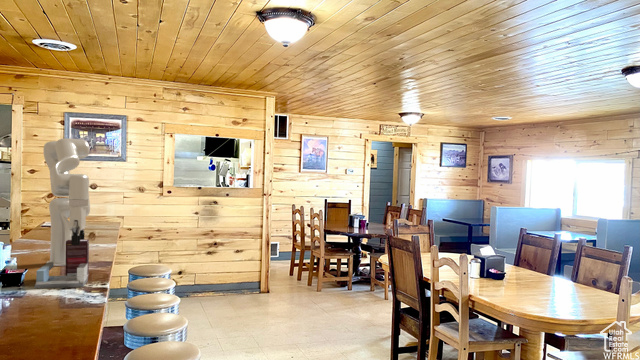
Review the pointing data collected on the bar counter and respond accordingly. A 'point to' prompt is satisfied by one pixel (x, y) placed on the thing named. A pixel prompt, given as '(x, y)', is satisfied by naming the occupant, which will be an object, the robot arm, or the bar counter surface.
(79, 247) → the supplement box
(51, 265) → the sliding jaw
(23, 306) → the bar counter surface
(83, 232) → the robot arm
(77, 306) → the bar counter surface
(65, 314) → the bar counter surface
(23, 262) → the bar counter surface
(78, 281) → the vise bed
